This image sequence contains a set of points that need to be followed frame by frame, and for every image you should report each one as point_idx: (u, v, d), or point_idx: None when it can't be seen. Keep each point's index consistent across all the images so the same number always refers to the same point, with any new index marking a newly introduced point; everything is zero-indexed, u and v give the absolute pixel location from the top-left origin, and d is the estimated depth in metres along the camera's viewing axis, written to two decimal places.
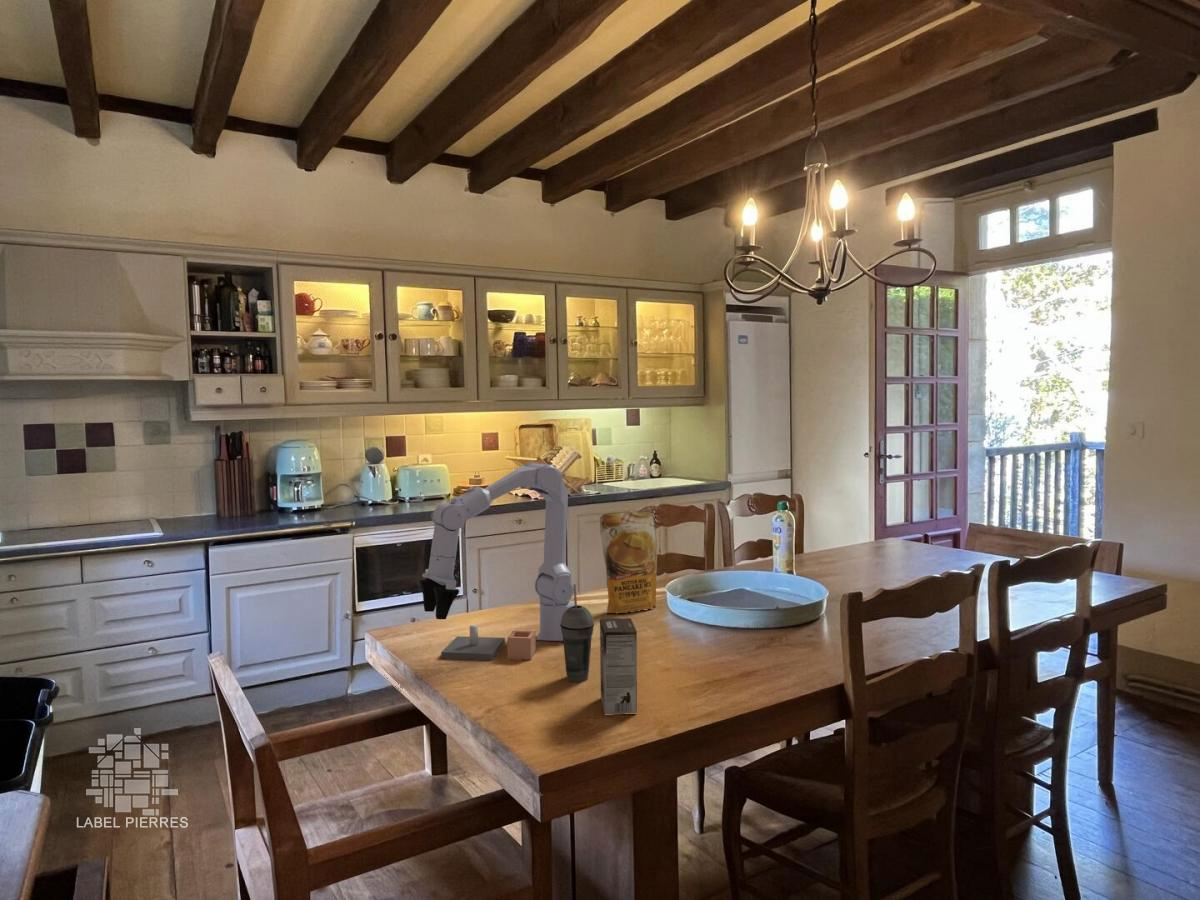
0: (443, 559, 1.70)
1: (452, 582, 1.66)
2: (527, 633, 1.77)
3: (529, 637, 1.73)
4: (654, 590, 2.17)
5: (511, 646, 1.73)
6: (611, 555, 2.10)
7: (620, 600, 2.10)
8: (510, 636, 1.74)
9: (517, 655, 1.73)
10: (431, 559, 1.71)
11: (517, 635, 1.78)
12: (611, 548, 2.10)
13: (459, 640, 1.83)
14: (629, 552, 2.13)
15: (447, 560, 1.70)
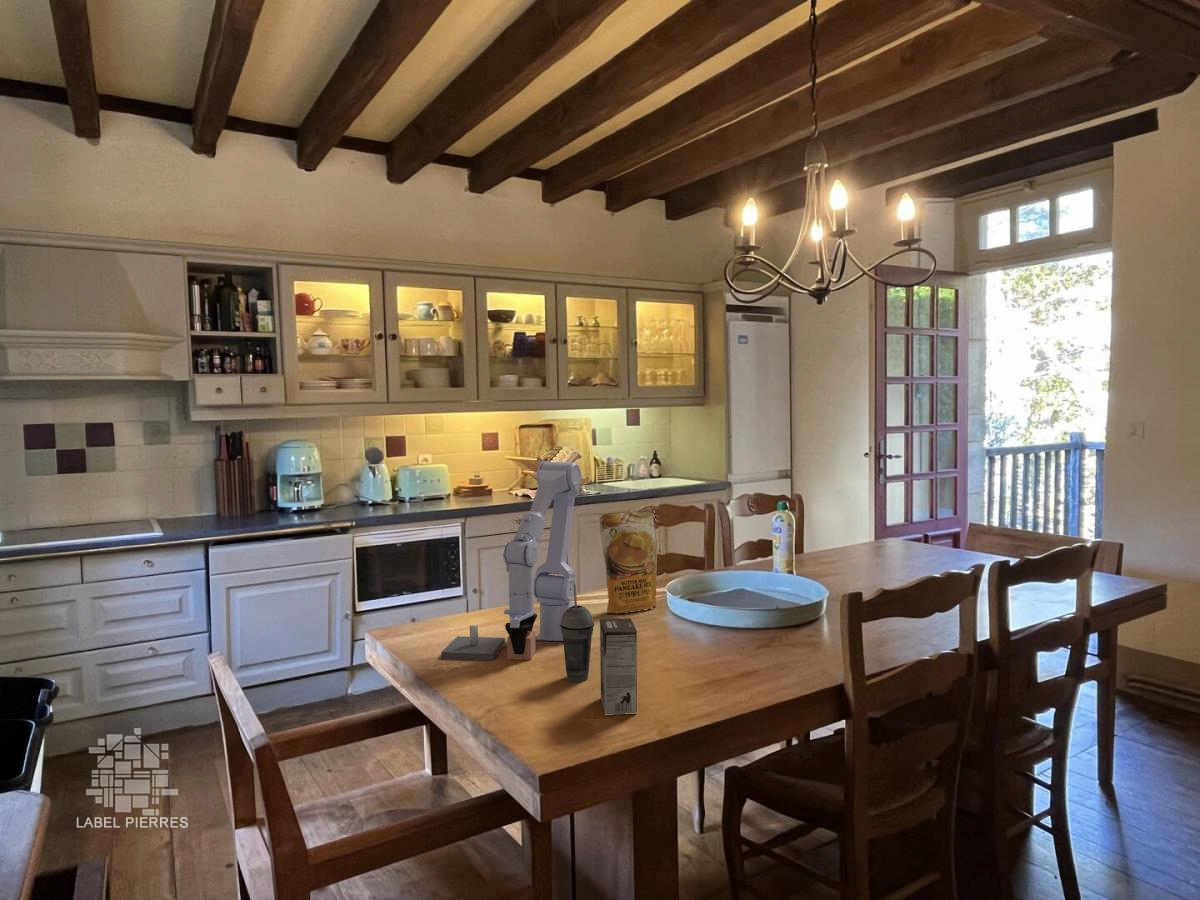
0: (514, 596, 1.73)
1: (514, 620, 1.68)
2: (527, 633, 1.77)
3: (529, 637, 1.73)
4: (654, 590, 2.17)
5: (511, 646, 1.73)
6: (611, 555, 2.10)
7: (620, 600, 2.10)
8: None
9: (517, 655, 1.73)
10: None
11: None
12: (611, 548, 2.10)
13: (459, 640, 1.83)
14: (628, 552, 2.13)
15: (518, 597, 1.72)
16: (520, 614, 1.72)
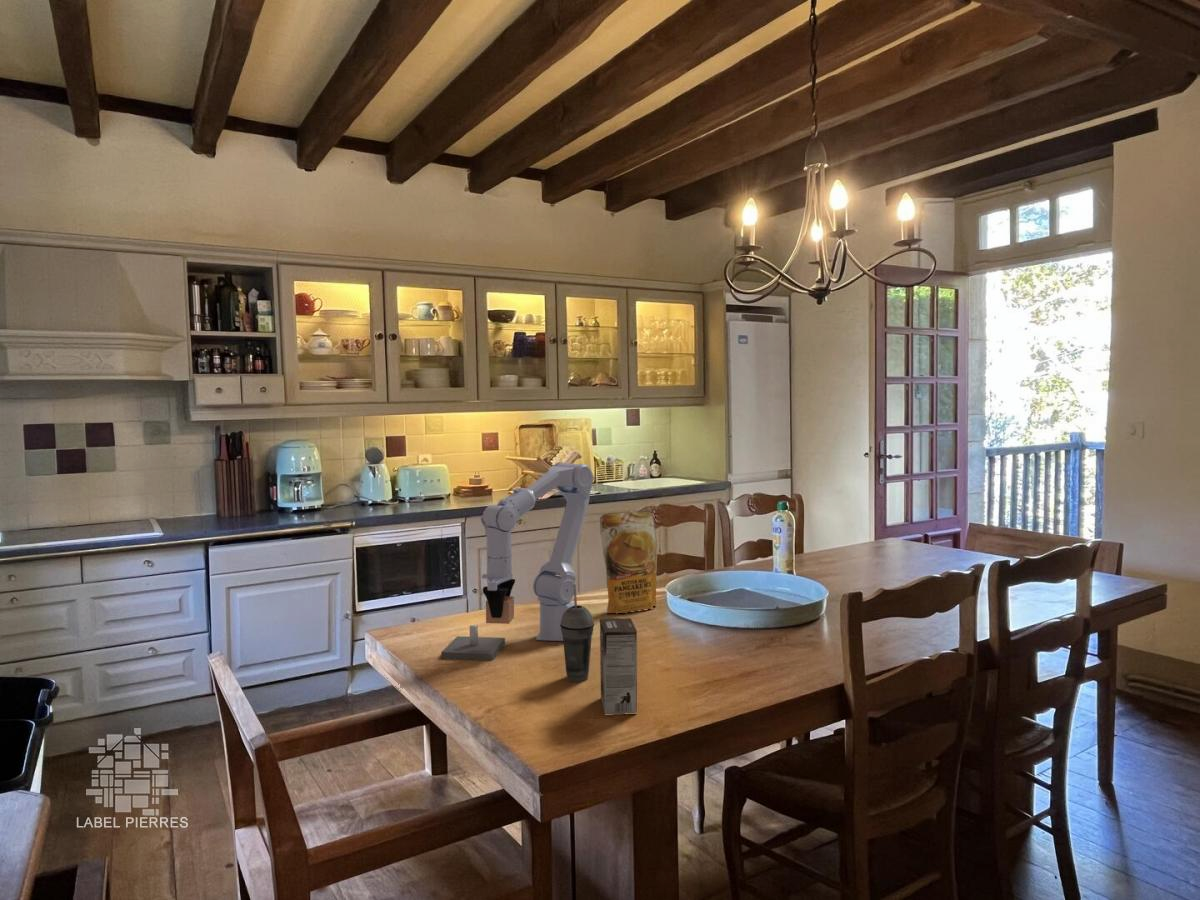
0: (492, 560, 1.74)
1: (492, 583, 1.69)
2: (505, 598, 1.78)
3: (507, 601, 1.74)
4: (654, 590, 2.17)
5: (489, 610, 1.74)
6: (611, 555, 2.10)
7: (620, 600, 2.10)
8: None
9: (495, 619, 1.74)
10: None
11: None
12: (611, 548, 2.10)
13: (459, 640, 1.83)
14: (629, 553, 2.13)
15: (496, 561, 1.73)
16: (498, 578, 1.73)
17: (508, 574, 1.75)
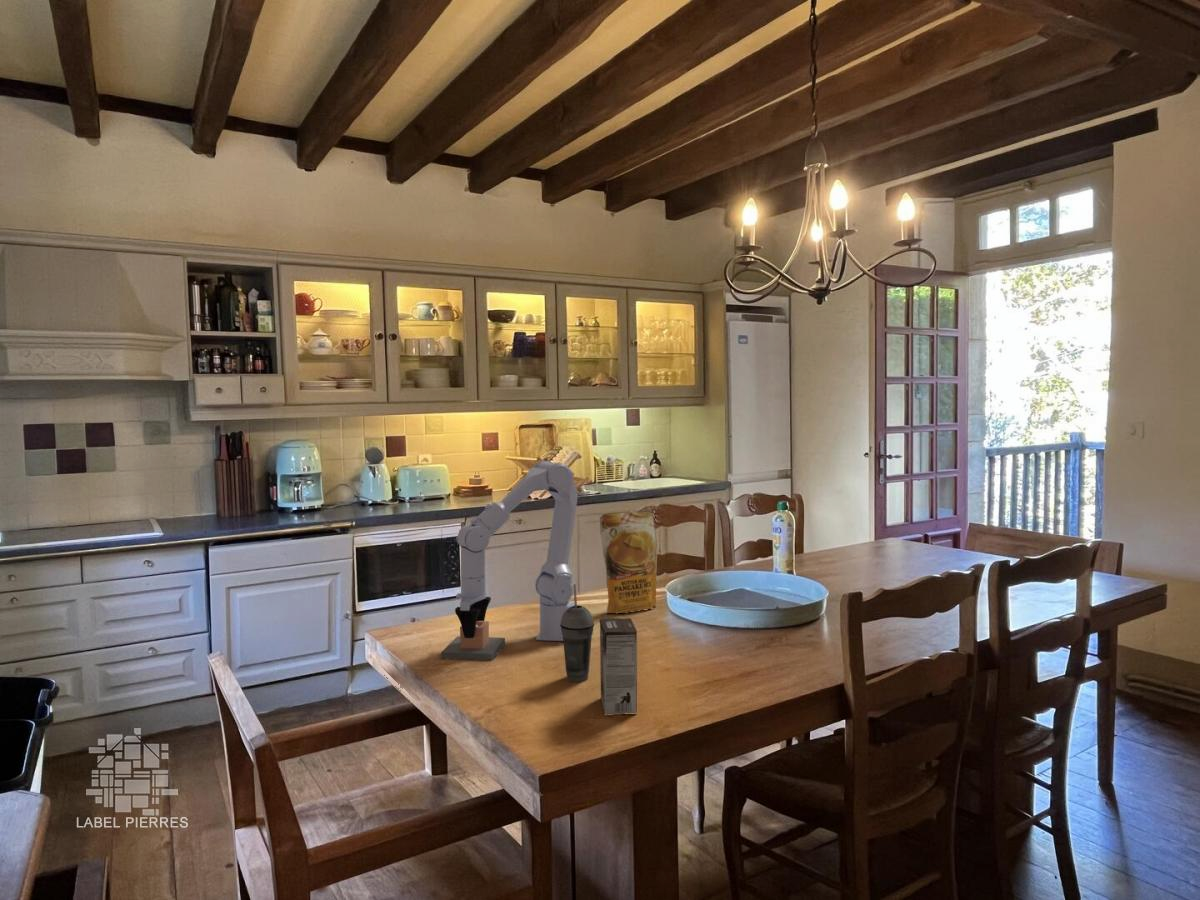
0: (466, 580, 1.76)
1: (464, 603, 1.71)
2: (480, 623, 1.81)
3: (481, 626, 1.77)
4: (654, 590, 2.17)
5: (463, 635, 1.77)
6: (611, 555, 2.10)
7: (620, 600, 2.10)
8: None
9: (469, 644, 1.77)
10: None
11: None
12: (611, 548, 2.10)
13: (459, 640, 1.83)
14: (628, 552, 2.13)
15: (469, 581, 1.76)
16: (471, 597, 1.76)
17: (482, 594, 1.77)
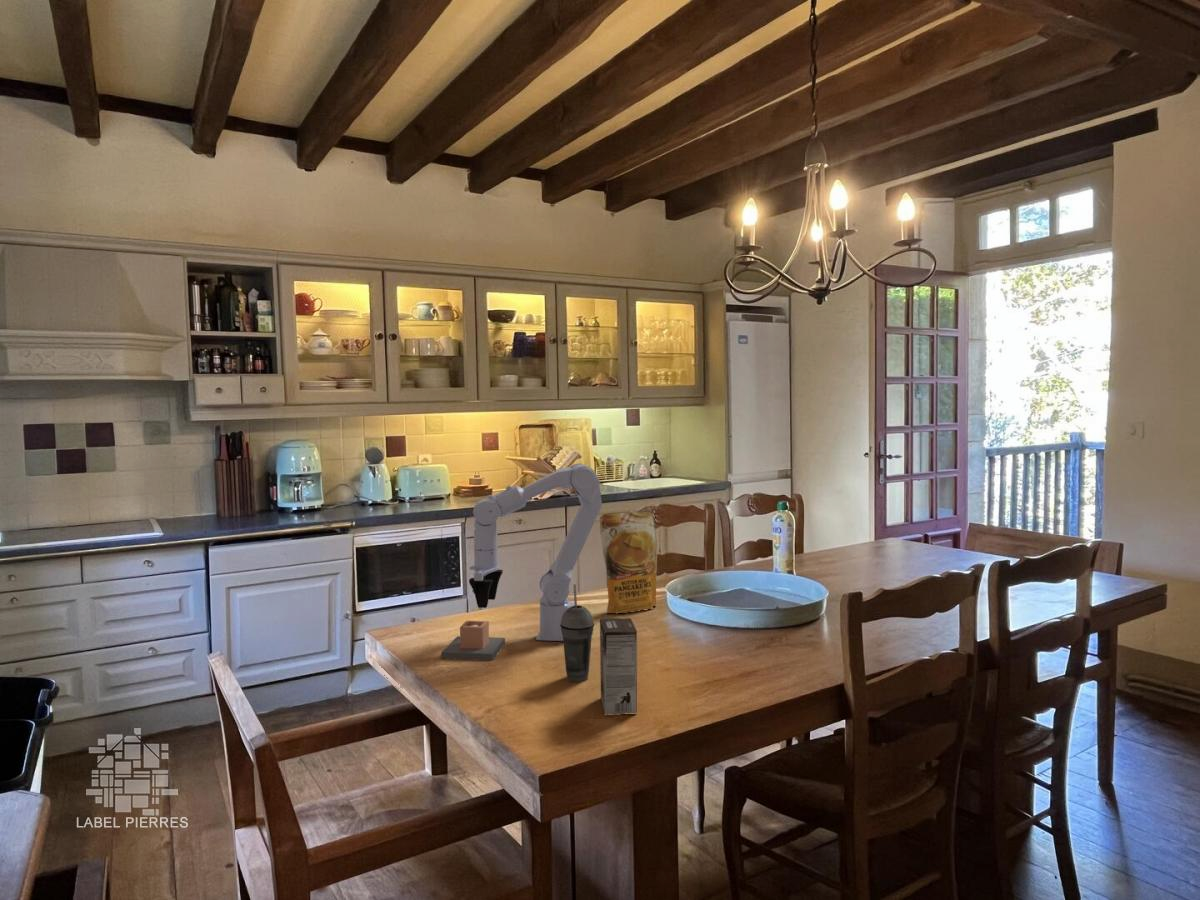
0: (479, 552, 1.83)
1: (478, 574, 1.79)
2: (480, 623, 1.81)
3: (481, 626, 1.77)
4: (654, 590, 2.17)
5: (463, 635, 1.77)
6: (611, 555, 2.10)
7: (620, 600, 2.10)
8: (463, 625, 1.78)
9: (469, 644, 1.77)
10: None
11: (470, 625, 1.81)
12: (611, 548, 2.10)
13: (459, 640, 1.83)
14: (629, 552, 2.13)
15: (483, 553, 1.83)
16: (484, 569, 1.83)
17: (494, 565, 1.84)
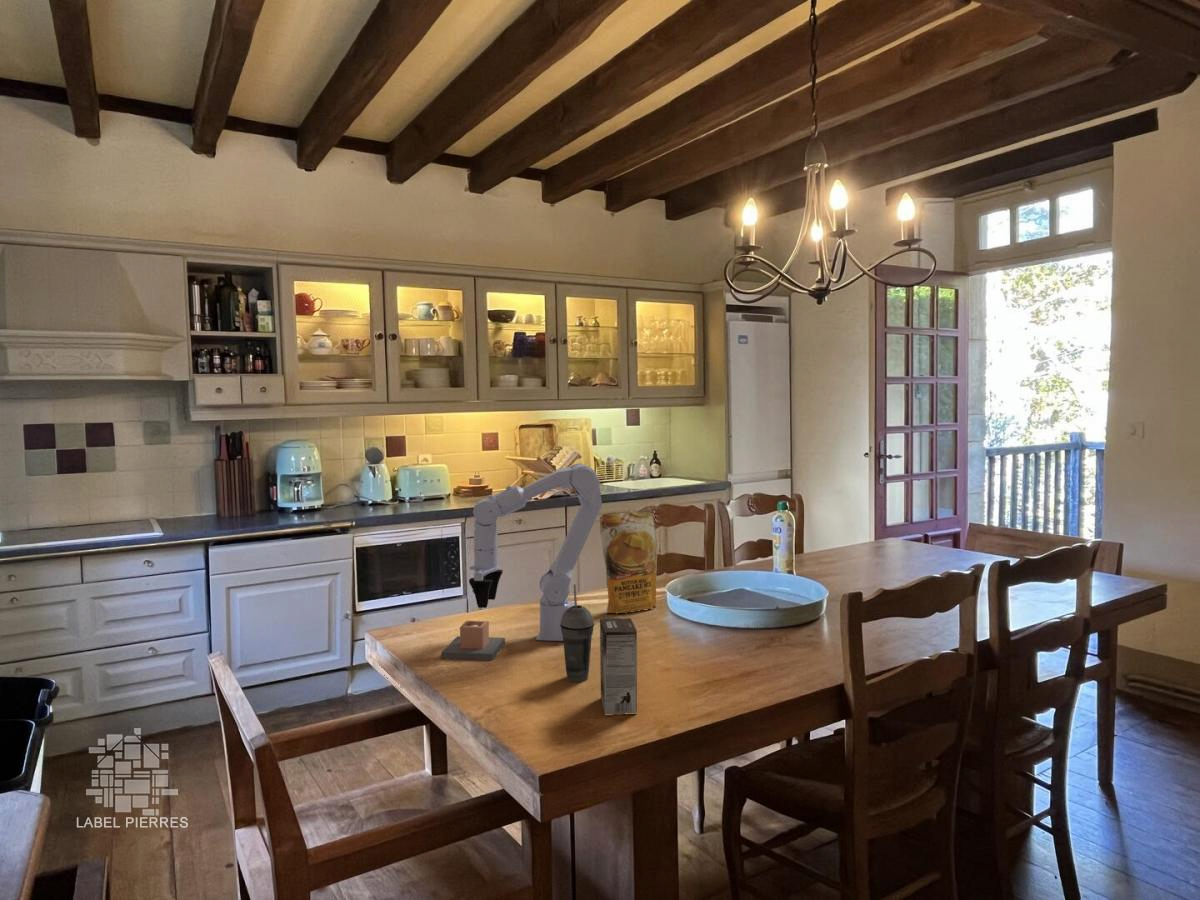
0: (479, 552, 1.83)
1: (478, 574, 1.79)
2: (480, 623, 1.81)
3: (481, 626, 1.77)
4: (654, 590, 2.17)
5: (463, 635, 1.77)
6: (611, 555, 2.10)
7: (620, 600, 2.10)
8: (463, 625, 1.78)
9: (469, 644, 1.77)
10: None
11: (470, 625, 1.81)
12: (611, 548, 2.10)
13: (459, 640, 1.83)
14: (628, 552, 2.13)
15: (483, 553, 1.83)
16: (484, 569, 1.83)
17: (494, 565, 1.84)
